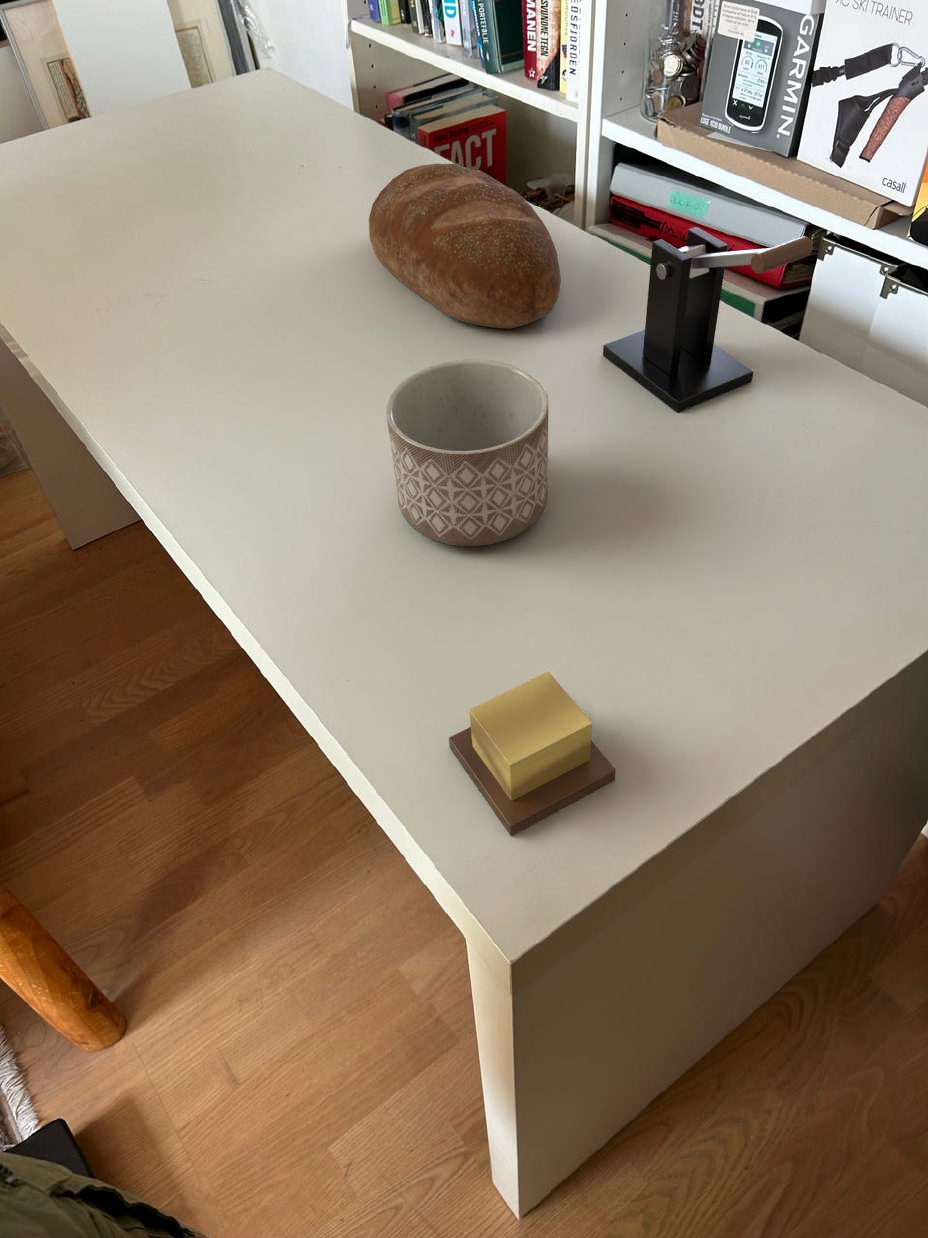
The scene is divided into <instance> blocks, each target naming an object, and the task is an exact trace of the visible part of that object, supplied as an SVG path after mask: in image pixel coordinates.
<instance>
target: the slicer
mask: <svg viewBox="0 0 928 1238" xmlns="http://www.w3.org/2000/svg"><path fill="white" fill-rule="evenodd" d="M695 245H705V248H706V254H711V253H722V252H728V249H729V244H727V242H724V241H722V240H721V239H719V238H717V237H715V236H714V235H711V234H710V233H708V232H707V231H704V230H703V229H701V228H700V227H698V226H695V227H691V228H688V229H687V235H686V245H685V246H695ZM678 249H679V248H676V247H675V246H673V245H672V244H670V243H668V242H667V241H665V240H663V239H662V238H660V239H658V240H655V241H652V244H651V254H650V255H651V257H650V266H649V278H648V279H649V280H648V289H647V290H648V291H647V301H646V312H645V313H646V314H645V325H644V329H643V330H640V331H637V332H634V333H632V334H629V335H627V336H624V337H622V338H619V339H616V340H614V341H611V342H608V343H605V344H603V347H602V356H603V357H604V358H605V359H607V361H609V362H610V363H612V364H613V365H614V366H615V367H616V368H618V369H620V370H621V371H622V372H623V373H625V374H626V375H627V376H629V378H631V379H632V380H634V381H635V382H636V383H638V384H639V385H641V386H642V387H643V388H644V389H645V390H647V392H649V393H651V394H652V395H653V396H655V397H656V398H657V399H658V400H660V401H661V402H662V403H664V404H665V405H667V406H668V407H669V408H670V409H671V410H672V411H674V412H675V413H681V412H682V411H685V410H688V409H690V408H692V407H694V406H697V405H700V404H702V403H704V402H707V401H709V400H711V399H714V398H716V397H719V396H721V395H723V394H726V393H728V392H731V391H733V390H736V389H739V388H741V387H743V386H745V385H748V384H750V383H753V379H754V378H753V377H754V372H755V371H754V370H752V369H751V368H749V367H748V366H746V365H745V364H743V363H742V362H740V361H739V360H737V359H736V358H735V357H733V356H732V355H730V354H728V353H727V352H725V351H724V350H723V349H721V347H718V346H717V345H716V344H715V338H716V329H717V323H718V317H719V310H720V305H721V303H720V302H721V297H722V289H723V288H722V287H723V284H724V277H725V268H726V267H715V268H709V272H708V273H705V274H702V275H699V276H696V277H694V278H691V279H689V278H690V269H691V261H692V258H691V257H690V256H688V255H686V254H685V253H683V252H681V251H680V250H678Z"/></svg>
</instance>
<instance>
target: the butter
mask: <svg viewBox="0 0 928 1238" xmlns="http://www.w3.org/2000/svg"><path fill="white" fill-rule="evenodd" d="M469 721H470V722H469V723H470V727H467V728H465V729H464V730H463V729H462V730H461V731H459V732H457V733H455V734H453V735H451V736H449V737H448V744H449V749H450V751H451V752H452V754H453V755H454V756H455V758H456V759H457V761H458V763H460V765H461V766H462V768H463V769H464V771H465V773H466V774H467V776H469V778H470V779H471V781H472V782H473V784H474V786H476V788H477V790H478V791H479V792H480V794H481V796H482V797H483V798H484V800H485V801H486V803H487V804H488V806H489V807H490V808H491V810H492V811H493V813H494V814H495V816H496V818H498V820H499V822H500V823H501V824H502V826H503V827H504V828H505V830H506V832H507V833H508V834H509V836H510V837H512V836H515V835H516V834H518V833H519V832H521V831H523V830H525V829H527V828H529V827H531V826H532V825H534V824H536V823H538V822H540V821H542V820H545V818H548V817H549V816H551V815H553V814H554V813H556V812H558V811H561V810H562V809H564V808H566V807H568V806H569V805H571V804H573V803H575V802H577V801H579V800H581V799H582V798H585V797H586V796H588V795H590V794H592V793H594V792H595V791H598V790H599V789H602V788H603V787H605V786H606V785H608V784H610V783H612V782H614V781H615V780H616V773H617V769H616V768H615V767H614V765H613V764H612V763H611V762H610V761H609V760H608V758H607V757H606V756H605V755H604V753H603V752H602V751H601V750H600V749H599V748H598V746H597V745H596V744H595V742H593V740H592V734H593V733H592V731H593V723H592V721H591V720H590V719H589V718H588V717H587V715H586V713H584V712H583V710H582V709H581V708H580V707H579V706H578V705H577V703H576V702H575V701H574V700H573V698H571V696H570V695H569V693H568V692H567V691H566V690H565V689H564V688H563V687H562V686H561V684H560V683H559V682H558V681H557V679H556V678H555V676H553V675H552V673H551V672H550V671H546V672H544V673H541V674H540V675H537V676H536V677H534V678H532V679H530V680H528V681H526V682H524V683H522V684H520V685H517V686H516V687H514V688H512V689H511V688H510V689H509V690H508V691H505V692H503V693H501V694H499V695H497V696H495V697H493V698H491V699H489V700H487V701H484V702H483V703H480V704H479V705H477V706H474V707H472V708H471V709H469Z"/></svg>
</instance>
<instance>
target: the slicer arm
mask: <svg viewBox="0 0 928 1238" xmlns="http://www.w3.org/2000/svg"><path fill="white" fill-rule="evenodd" d="M677 249H678V250H680V251H681V252H683V253H685V254H686V255H688V256H690V257H691V258H692V261H691V269H690V278H689V279H691V278H694V277H696V276H699V275H702V274H705V273H708V272H709V268H715V267H725V268H726V267H740V266H750V267H751V269H752V271H753V272H754V273H755V274H758V275H759V274H760V275H761V274H764V273H766V272H768V271H771V270H774V269H777V268H779V267H782V266H784V265H787V264H790V263H793V262H795V261H798V260H801V259H804V258H807V257H808V256H810V255H811V254H812V252H813V243H812V240H811V239H810V238H809V237H808V236H805V235H804V236H801V237H800V236H799V237H798V238H795V239H792V240H790V241H787V242H784V243H781V244H778V245H776V246H772V247H768V248H758V249H757V248H756V249H746V250H745V249H744V250H733V251H727V252H722V253H711V254H706V248H705V245H695V246H686V245H685V246H682V247H680V248H677Z"/></svg>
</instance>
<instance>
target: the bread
mask: <svg viewBox="0 0 928 1238" xmlns="http://www.w3.org/2000/svg"><path fill="white" fill-rule="evenodd" d="M368 233H369V241H370V244H371V247H372V250H373V252H374V255H375V257H376V259H377V260H378V261H379V263H380V264H381V265H382V266H383V267H384V268H385V269H386V270H387V272H389V273H390V274H391V275H392V276H393V277H394V278H395V279H396V280H397V281H399V282H400V283H401V284H402V285H403V286H405V287H406V288H407V289H409V290H410V291H412V292H413V293H415V294H416V295H417V296H418V297H420V298H422V299H423V300H425V301H426V302H428V303H429V304H431V305H432V306H433V307H434V308H435V309H437V310H438V311H439V312H441V313H442V314H444V315H445V316H447V317H449V318H451V319H454V320H457V321H460V322H462V323H466V324H470V325H476V326H481V327H486V328H487V327H488V328H493V329H509V330H510V329H515V328H518V327H523V326H527V325H529V324H531V323H534V322H536V321H538V320H540V319H542V318H544V317H546V316H547V315H548V314H550V313H551V312H552V311H553V310H554V307H555V305H556V304H557V301H558V298H559V294H560V290H561V284H562V283H561V282H562V277H561V270H560V263H559V257H558V251H557V249H556V246H555V243H554V241H553V238H552V236H551V234H550V231H549V230H548V228H547V227H546V224H545V223H544V222H543V220H542V219H541V218H540V216H539V215H538V213H537V212H536V211H535V209H534V208H533V206H532V205H531V204H530V203H529V202H528V201H527V200H526V199H525V198H524V197H522V195H521V194H519V193H518V192H517V191H516V190H514V189H513V188H511V187H507V186H506V185H505V184H503V183H501V182H500V181H499V180H497V179H495V178H493V177H492V176H490V175H489V174H487V173H486V172H483V171H482V170H479V169H477V168H472V167H471V168H470V167H465V166H461V165H460V164H458V163H432V164H422V165H421V164H420V165H417V166H415V167H412V168H408V169H406V170H404V171H403V172H401V173H400V174H398V175H397V176H395V177H394V178H392V179H391V180H390V181H389V182H388V183H387V184H386V185H385V186H384V187H383V189H382V190H381V191H380V192H379V193H378V195H377V197H376V198H375V199H374V201H373V203H372V205H371V209H370V213H369V216H368Z"/></svg>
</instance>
